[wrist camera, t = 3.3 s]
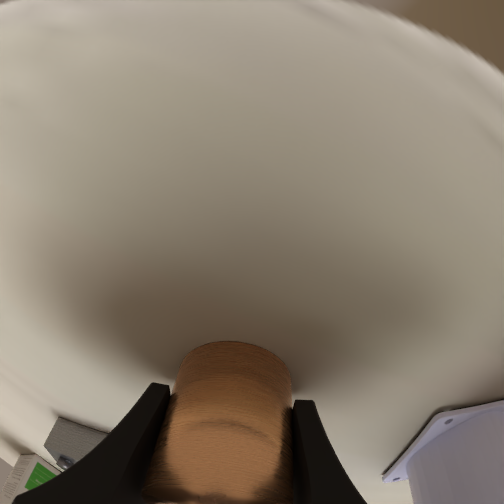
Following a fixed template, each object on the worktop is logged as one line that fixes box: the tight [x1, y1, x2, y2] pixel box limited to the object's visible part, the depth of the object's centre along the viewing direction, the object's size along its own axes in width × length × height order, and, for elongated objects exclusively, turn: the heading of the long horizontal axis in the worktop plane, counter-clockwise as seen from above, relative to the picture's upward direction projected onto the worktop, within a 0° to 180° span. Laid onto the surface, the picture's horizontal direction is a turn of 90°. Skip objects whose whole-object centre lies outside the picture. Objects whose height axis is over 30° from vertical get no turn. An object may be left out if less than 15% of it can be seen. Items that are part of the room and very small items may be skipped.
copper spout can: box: [141, 341, 293, 504], centre depth 9 cm, size 4×4×7 cm
